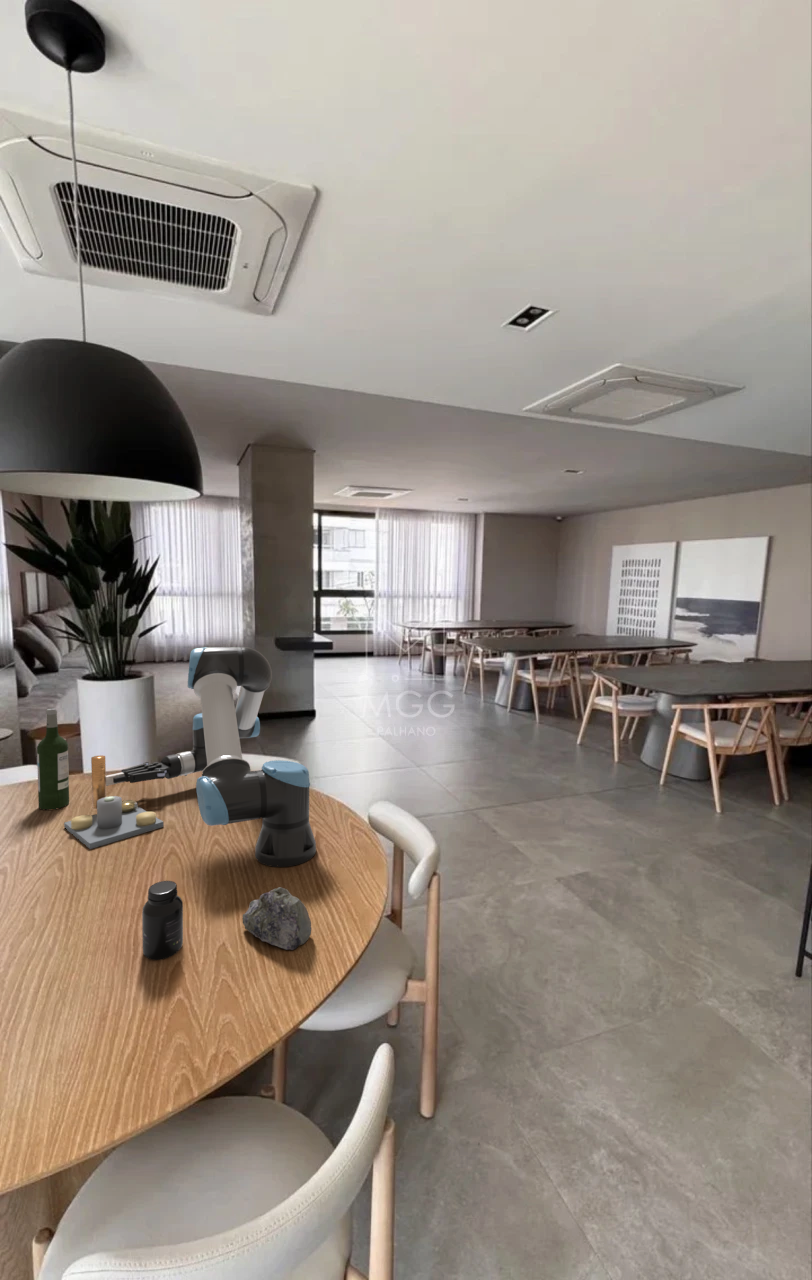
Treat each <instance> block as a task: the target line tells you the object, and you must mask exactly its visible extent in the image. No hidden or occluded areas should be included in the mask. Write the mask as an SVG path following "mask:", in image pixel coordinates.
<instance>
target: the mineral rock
mask: <svg viewBox="0 0 812 1280" xmlns="http://www.w3.org/2000/svg"><path fill="white" fill-rule="evenodd" d="M242 924H243V927H244V929H245V930H246V931H248V932H249V933H250V934H252V935H253V936H254V937H255V938H258V939H259V940H261V942H266V943H268V944H270V945H272V946H275V947H278V948H280V949H283V950H285V951H286V950H287V951H288V950H291V951H293V950H296V949H297V948H298V947H299V946H302V945H304V944H306V942H307V941H308V940H309V938H310V936H311V935H312V920H311V918H310V913H309V911H308V909H307V907H306V905H305V904H304V903H303V902H302V901H301V900H300V899H299V898H298V897H296V896H294V895H292V894H291V893H290V891H289V890H288V889H287V888H283V887H281V886H280V887H277V888H274V889H272V890H270V891H268V892H265V893H262V894H261V895H260V896H259V898H258V899H254V900H252V901H250V902H249V906H248V909H247V910H246V911H245V913H243V914H242Z"/></svg>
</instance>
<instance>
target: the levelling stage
mask: <svg viewBox="0 0 812 1280" xmlns="http://www.w3.org/2000/svg"><path fill="white" fill-rule="evenodd" d="M122 801H123V799H122V797H121V796H120V795H119V796H117V795H113V796H112V795H111V796H106V797H104V798H101V799H99V800H98V801H97V809H96V813H95V814H92V815H90V814H81V815H77V816H74V817H72V818H71V819H70V820H68V821H65V822H64V823H63V827H65V828H66V829H67V830H66V829H65V828H64V829H65V830H66V831H68V832H69V833H70V834H71V835H72V834H73V835H72V836H74V837H75V838H76V840H78V839H79V840H78V841H79V842H81V843H82V844H83V845H84V844H85V845H86V846H85V845H84V846H85V847H87V848H88V849H89V850H91V849H95V848H98V847H99V848H100V847H102V846H106V845H108V844H112V843H115V842H118V841H121V840H125V839H128V838H132V837H135V836H138V835H141V834H145V833H147V832H148V833H149V832H151V831H154V830H157V829H160V828H164V826H165V825H164V824H165V822H164V821H163V820H161V819H160V818H158V817H157V813H156V812H154V811H146V810H145V809H143V808H142V807H140V806H138V808H137V809H135V810H133V811H129V812H122Z"/></svg>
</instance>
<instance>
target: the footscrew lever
mask: <svg viewBox="0 0 812 1280" xmlns="http://www.w3.org/2000/svg"><path fill="white" fill-rule="evenodd" d="M90 761H91V762H90V763H91V765H90V766H91V799H92V801H91V802H92V803H91V806H92V809H96V810H97V801H98V800H99V799H101V798H104V797H107V786H106V776H107V774H106V773H107V772H106V771H107V770H106V755H101V754H100V755H94V756H92V757H91V760H90ZM137 808H138V802H136V800H134V799H124V800H122V812H129V811H133V810H135V809H137Z"/></svg>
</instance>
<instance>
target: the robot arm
mask: <svg viewBox="0 0 812 1280" xmlns="http://www.w3.org/2000/svg"><path fill="white" fill-rule="evenodd" d="M187 675H188V676H187V688H188V689H191V690H193V692H194V694H195V695H196V697H198V698H199V699H200V705H201V707H200V708H201V713H197V714H194V716H193V719H192V750H188V751H182V752H178V753H176V754H175V753H174V754H169V755H164V756H163V757H162V759H161V761H160V762H158V761H155V762H152V763H149V762H148V761H146V762H143V763H141V764H138V765H134V766H130V767H127V768H124V769H121V770H120V771H121V772H117V773H112V774H106V787H109V786H113V785H116V784H121V783H129V784H130V783H131V784H134V783H141V782H145V781H147V782H148V781H152V780H163V779H168V780H170V779H173V778H175V779H176V778H177V777H182V776H184V777H187V776H188V775H190V774H195V773H199V772H201V776H199V777H198V778H197V779H196V781H195V782H196V783H195V784H196V785H195V789H196V796H197V797H196V798H197V804H198V809H199V813H200V816H201V819H202V821H203V822H204V823H205V824H206V825H207V826H220V825H222V826H227V825H229V824H236V823H241V822H242V823H243V822H247V821H248V822H249V821H253V820H259V819H262V826H261V828H260V831H259V834H258V837H257V841H256V843H255V848H254V849H255V850H254V854H255V856H254V857H255V859H256V861H258V862H259V863H260V864H262V865H265V866H268V867H276V868H283V867H287V868H288V867H293V866H298V865H301V864H304V863H306V862H307V861H310V860H311V859H312V858H313V857H314V856H315V855H316V851H317V843H316V839H315V836H314V832H313V830H312V826H311V823H310V787H311V782H310V772H309V769H308V768H307V767H306V766H305V765H304V764H302V763H298V762H296V761H289V760H283V759H282V760H279V759H278V760H276V759H275V760H270V761H266V762H264V763H263V764H262V766H261V769H258V770H251V766H250V763H249V762H248V761H247V760H246V759H243V754H242V748H241V747H242V746H241V740H240V739H251V738H256V737H258V736H259V735H260V732H261V722H260V718H259V717H258V713H259V711H260V708H261V704H262V700H263V697H264V694H265V691H267V690H268V688H270V686H271V682H272V679H273V671H272V667H271V664H270V663H269V661H268V659H267V658H266V657H265V656H264V655H263V654H262V653H261V652H260V651H258V650H256V649H254V648H251V647H248V646H223V647H221V646H220V647H218V646H217V647H212V646H211V647H208V646H205V647H196V648H193V649H192V650H191V651H190V654H189V664H188V674H187ZM237 687H240V689H239V692H238V696H237V700H236V704H235V700H234V693H235V691H236V690H237Z"/></svg>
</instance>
